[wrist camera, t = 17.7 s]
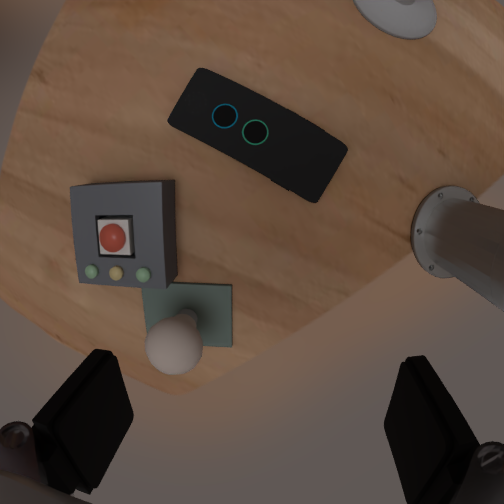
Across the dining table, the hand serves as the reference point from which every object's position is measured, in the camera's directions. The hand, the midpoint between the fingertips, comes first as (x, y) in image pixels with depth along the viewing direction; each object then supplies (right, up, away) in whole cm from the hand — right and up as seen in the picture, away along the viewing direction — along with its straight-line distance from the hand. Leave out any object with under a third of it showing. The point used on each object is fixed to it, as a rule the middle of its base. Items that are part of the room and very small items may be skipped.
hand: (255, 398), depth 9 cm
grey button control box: (-16, +8, +29) cm, 34 cm away
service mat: (-9, -4, +32) cm, 33 cm away
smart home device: (0, +19, +26) cm, 32 cm away
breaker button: (-16, +7, +27) cm, 32 cm away
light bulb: (-8, -4, +32) cm, 33 cm away
